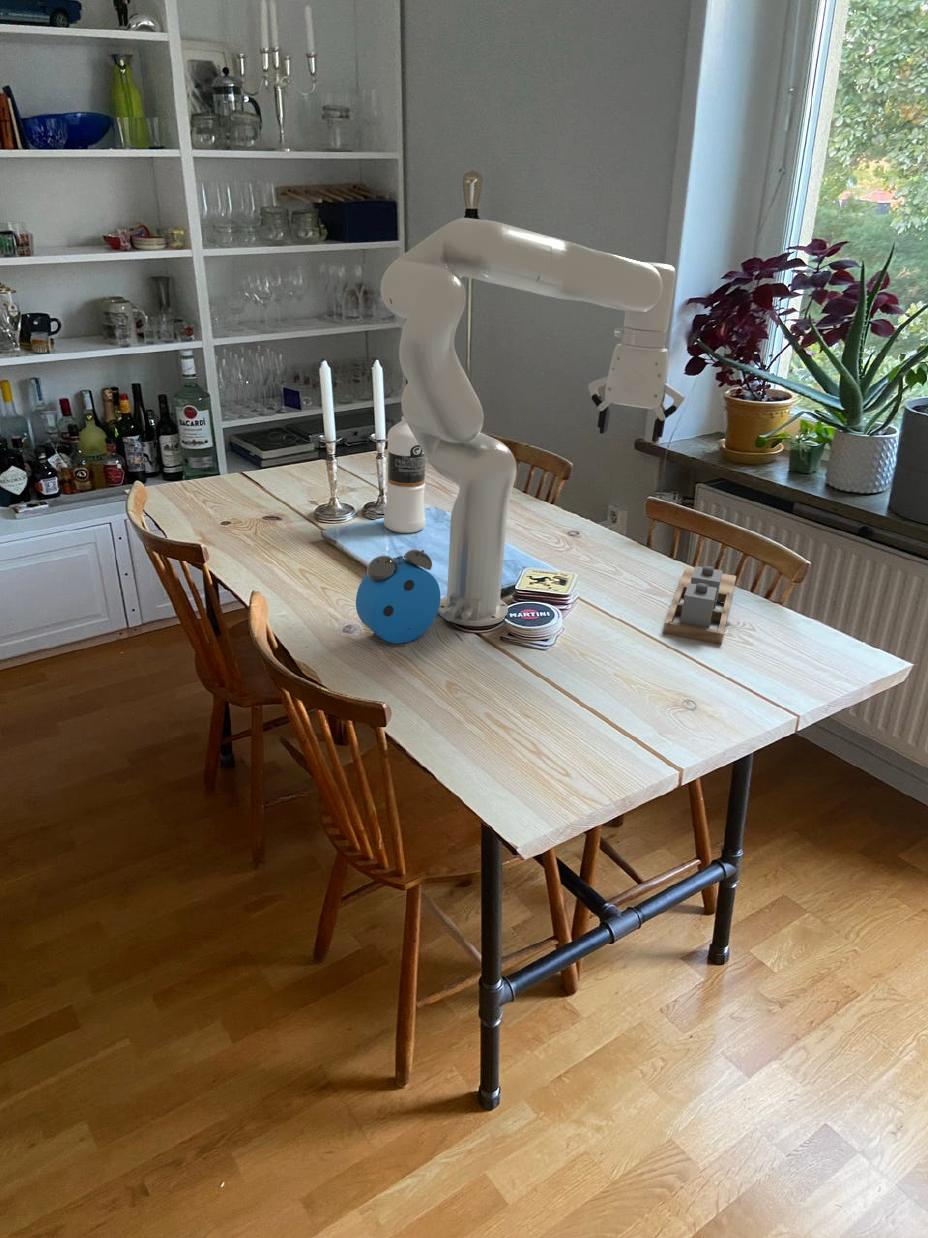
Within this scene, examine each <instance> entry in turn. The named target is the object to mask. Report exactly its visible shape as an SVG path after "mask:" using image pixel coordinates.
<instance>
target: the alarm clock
mask: <svg viewBox="0 0 928 1238" xmlns="http://www.w3.org/2000/svg"><path fill="white" fill-rule="evenodd" d="M432 568H433V562H432V558H431V557H430V555H428V553H426V552H425V550H424V549H421V550H419V549H411V550H410V549H409V550H408V551H406V552H405V553H404V555H400V556H396V557H391V556H390V555H378V556H377V557H374V558H372V560H371V561H370V562H369V563H368V565H367V568H366V574H365V576H364V577H363V579H362V580H361V582H360V584H359V586H358V588H357V591H356V597H355V608H356V613H357V615H358V616H357V617H358V619H359V620H360V621H361V623H362V624H363V625H364V626H365V627H367V629H369V630H370V631H372V632H373V633H372V637H373V638H375V637H376V636H378V637H379V638H381V639H382V640H384V641H386V642H388V643H390V644H405V643H409V642H412V641H414V640H416V639H417V638H419V637H420V636H422V635H423V634H424V633H426V631H427V630H428V629H429V628H430V627H431V625H432V624H433V622H434V621H435V620H436V617H437V615H438V614H439V613H438V610H439V606H440V599H441V598H442V597H441V589H440V586H439V584H438V581H437V580H436V578H435V577H434V575H433V574H431V573H430V572H429V571H431V570H432ZM427 570H428V571H427Z"/></svg>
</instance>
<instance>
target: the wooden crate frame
mask: <svg viewBox="0 0 928 1238" xmlns="http://www.w3.org/2000/svg"><path fill="white" fill-rule="evenodd" d="M694 569H695V567H693V568H692V567H688V566H685V567H684V569H683V572H682V575H681V577H680V580H679V583H678V585H677V589H676V592H675V594H674V597H673V600H672V603H671V605H670V608H669V609H668V613H667V615H666V619H665V621H664V628H663V631H662V633H663V634H666V635H667V634H668V635H672V636H676V637H678V636H679V637H682V638H686V639H692V640H697V641H698V640H699V641H701V642H702V641H703V642H709V643H713V644H717V645H722V643H723V638H724V635H725V629H726V625H727V621H728V616H729V612H730V607H731V603H732V598H733V595H734V594H733V593H734V589H735V584H736V580H737V575H733V574H729V573H728V574H727V573H722V577H721V582H720V588H719V593H718V598H717V602H724V604H723V609H716V608H715V609H713V612H712V617H711V622H714V621H716V622H715V623H719V622H720V623H719V624H718V629H713V628H709V629H708V628H703V627H697V626H692V625H687V624H682V623H680V622H676V621H674V620H675V618H676V616H677V615H678V616H681V613H682V607H683V602H681V600H682V598H683V597H684V596H685V592H686V589H687V586H688V583H691V578H692V575H693V572H694Z"/></svg>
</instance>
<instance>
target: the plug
mask: <svg viewBox="0 0 928 1238" xmlns="http://www.w3.org/2000/svg"><path fill="white" fill-rule="evenodd" d="M716 591H717V588H715V587H709V586H708V585H707V584H704V583H697V584H692V583H688V586H687V589H686V592H685V596H683V602H682V603H683V607H682V613H681V615H680V619H679V623H682V624H687V625H692V626H697V627H703V628H708V629H710V627H711V622H712V621H711V617H712V612H713V607H714V602H715V597H716Z"/></svg>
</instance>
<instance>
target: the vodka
mask: <svg viewBox="0 0 928 1238" xmlns="http://www.w3.org/2000/svg"><path fill="white" fill-rule="evenodd" d="M403 391H404V389H403V390H402V392H403ZM426 460H427V458H426V456H425V454H424V452H423V451H422V449H421V447H420V446H419V444H418V442H417V440H416V439H415V437H414V435H413V433H412V432H411V430H410V428H409V426H408V424H407V422H406V420H405V418H404V415H403V411H402V410H401V421H400V422H397V423H396V424H395V425H393V426H392V427H390V428H389V430H388V432H387V481H386V484H385V485H386V490H387V491H386V492H387V493H386V504H385V511H384V512H385V513H384V514H383V524H384V526H385V528H386V529H388V530H390V531H391V532H393V533H394V532H395V533H401V534H412V533H413V534H414V533H417V532H420V531H421V530H423V529H424V528H425V527H426V524H427V523H426V522H427V517H426V514H425V512H426V511H425V488H426V483H425V480H426Z"/></svg>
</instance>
